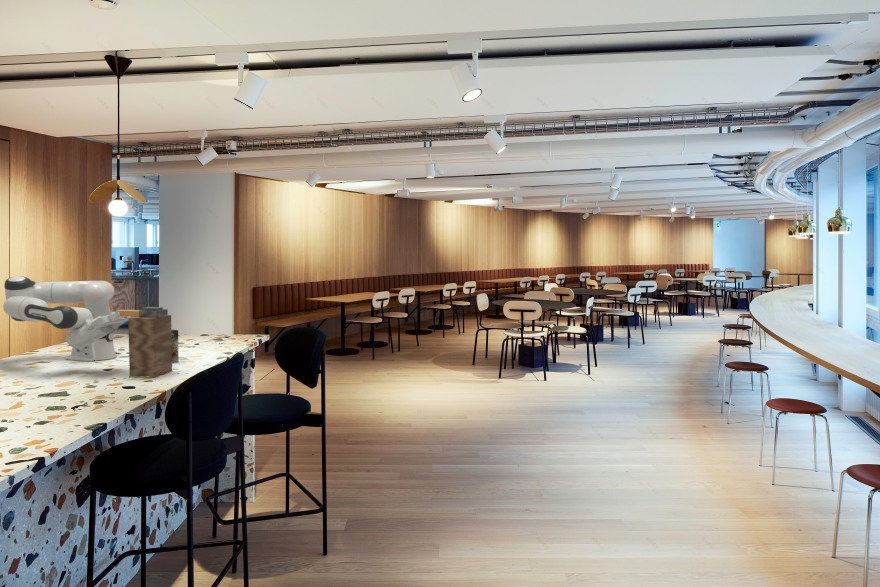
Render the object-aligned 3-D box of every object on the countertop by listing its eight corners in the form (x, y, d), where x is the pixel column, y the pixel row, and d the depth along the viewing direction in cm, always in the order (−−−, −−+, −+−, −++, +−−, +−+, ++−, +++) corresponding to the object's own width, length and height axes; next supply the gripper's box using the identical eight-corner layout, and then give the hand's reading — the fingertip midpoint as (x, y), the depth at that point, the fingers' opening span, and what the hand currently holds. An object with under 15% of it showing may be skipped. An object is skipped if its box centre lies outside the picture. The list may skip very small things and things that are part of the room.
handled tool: (114, 316, 268) (114, 307, 267) (121, 315, 273) (121, 306, 272) (157, 317, 266) (156, 308, 266) (162, 316, 271) (162, 307, 271)
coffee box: (161, 364, 291) (160, 331, 290) (154, 363, 295) (154, 330, 293) (179, 362, 298) (178, 330, 297) (172, 360, 302) (171, 328, 301)
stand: (129, 376, 265) (128, 311, 262) (147, 370, 278) (145, 307, 276) (155, 377, 264) (154, 311, 262) (172, 370, 278) (171, 308, 275)
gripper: (82, 323, 260) (108, 308, 259) (110, 317, 281) (135, 303, 280) (89, 336, 261) (115, 321, 259) (117, 329, 281) (141, 315, 280)
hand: (126, 312), depth 270 cm, fingers open, 8 cm apart
